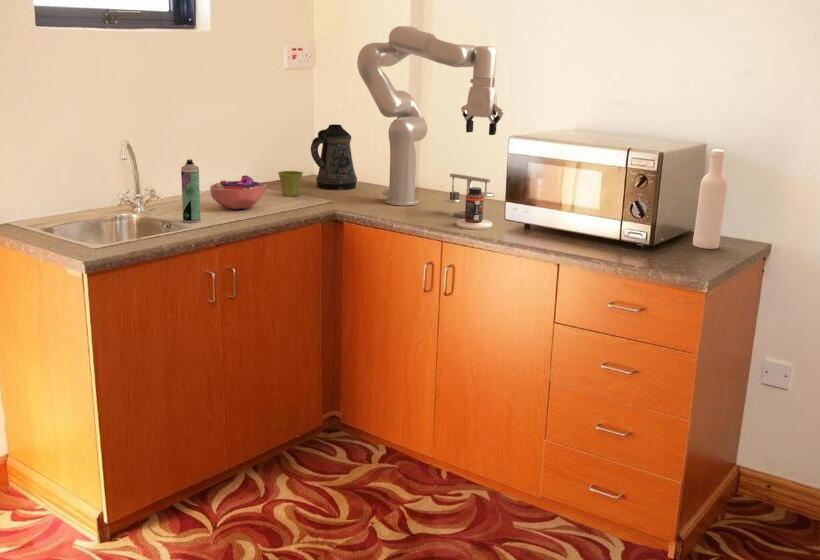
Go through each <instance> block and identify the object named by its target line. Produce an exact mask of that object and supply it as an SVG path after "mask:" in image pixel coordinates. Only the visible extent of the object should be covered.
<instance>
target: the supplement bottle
mask: <svg viewBox="0 0 820 560" xmlns="http://www.w3.org/2000/svg"><path fill="white" fill-rule="evenodd" d="M469 192H470V193H469V194H467V193H466V195H465V210H464V211H465V221H467V222H470V223H480V222H482V219H483V217H484V200H485V199H484V198H485V197H484V196H483V195H482V194H481V192H482V187H476V186H473V187H470V188H469Z"/></svg>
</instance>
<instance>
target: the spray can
mask: <svg viewBox="0 0 820 560" xmlns="http://www.w3.org/2000/svg"><path fill="white" fill-rule="evenodd" d="M193 161H194V160H193V159H191V158H190V159H186V163H185V165H183V166H181V168H180V169H181V170H180V172H181V174H180V176H181V178H180V179H181V197H182V198H181V201H182V204H181V205H182V222H183V223H185V224H195V223H200V222H201V193H200V192H201V191H200V170H199V166H197V165H196V164H195V163H194V162H193Z"/></svg>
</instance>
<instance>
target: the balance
mask: <svg viewBox="0 0 820 560" xmlns="http://www.w3.org/2000/svg"><path fill="white" fill-rule="evenodd" d="M449 178H452V179H451V180H452V181H451V183H452V185H451V186H452V187H451V191H450V192H449V197H445V198H443V202H446V203H453V204H454V203H456V204H457V203H461V202H462V199H461V198H460V192H459V191H454V190H455V189H454V188H455V178H456V179H462V180H466V195H467V194H469V193H470V192H469V188H470V187H472V185H473V181H475V182H481V183H485V185H484V191H481V194H482V195H483V196H484V198H492V197H495V193H493V192H488V190H487V188H488V184H489V183H491V179H489V178H484V177H477V176H471V175H464V174H458V173H450V174H449ZM452 217H455V218H460V219H465V210H461V211H456V212H453V216H452Z"/></svg>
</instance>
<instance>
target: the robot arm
mask: <svg viewBox="0 0 820 560" xmlns="http://www.w3.org/2000/svg"><path fill="white" fill-rule="evenodd" d="M389 32H390V33H389V35H388V41H387V42H371V43H367V44H365V45H363V47H362V48H361V49H360V51H359V53H358V56H357V61H356V65H357V66H356V67H357V69H358V74H359V75H360V77H361V79H362V81H363V82H364V83H363V84H365V86H366V88H367V90H368V92H369V93H370V95H371V97H372V99H373V101H374V103H375V104H376V106H377V109H378V111H380V114H381V115H382V116H384V117H385V118H396V119H394V120H393V121H392V122H391V123H390V125H389V127H388V131H387V132H388V140H389V189H388V188H385V189H384V190H382V193H381V194H382V195H384V196H385V195H386V198H385V199H384V203H385V204H388V205H391V206H399V207H400V206H409V207H410V206H414V205H418V204H419V202H420V201H419V199H417V198H416V197H415V195H416V171H417V170H416V168H417V167H416V165H417V153H416V146H415V142H420V141H422V140H423V139H425V137H426V136H427V133H428V124H427V122H426V120H425V117H424V116H423V113H422V112H421V110H420V107H419V106H418V105H417V103H416V101H415V99H414V98H413V96H412V95H411V94H410V93H408V92H407V91H406V90H405V91H404V90H396V88H395V87H394V85H393V84H392V82H391V81H390V78H389V77H388V75H387V74H386V73H385V72H384V71H383V70H382V68H383V67H384V68H385V67H391V66H394V65H396V64H398V63H399V62H401V61H403V60H404V59H406V58H407V57H409V56H411V55H414V56H416V57H417V56H418V57H421V58H425V59H427V60H429V61H431V62H434V63H437V64H441V65H445V66H449V67H452V68H472V67H473V72H472V74H473V75H472V78H471V79H470V83H471V84H472V85H471V86H470V87H469V90H468V91H469V92H468V96H467V99H466V100H467V102H466V104H465V105H462V106H461V108H460V110H461V112H462V116H463V117H464V120H465V121H466V124H465V126H466V127H465V130H466V131H465V132H466V133H473V132H474V120H473V119H474V118H475V117H477V118H488V120H489V121H490V122H489V128H488V135H489V136H495V135H496V134H497V124H499V121H500V120H501V119H502V117H503V116H504V113H505V111H504V110H503V109H501V108H500V107H499V106H497V105H498V98H497V96H498V95H497V89H496V87H495V81H496V79H495V78H496V65H497V63H496V62H497V49H496V47H494V46H488V45H487V46H486V45H479V46H476V45H471V44H456V43H453V42H447V41H444V40H441V39H439V38H437V37H436V35H435V34H432V33H430V32H426V31H421V30H419V29H418V28H417V27H414V26H407V25H406V26H405V25H404V26H403V25H400V26H396V27H393V29H391V31H389Z"/></svg>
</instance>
